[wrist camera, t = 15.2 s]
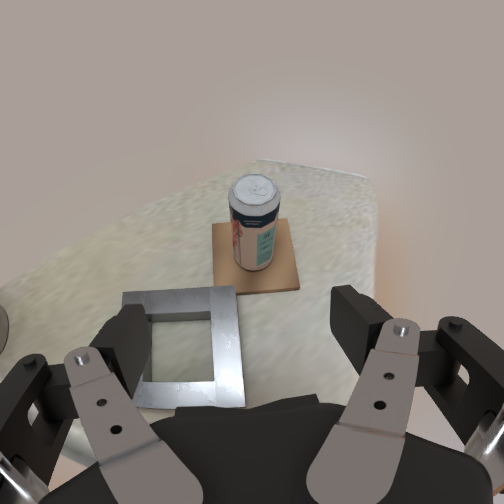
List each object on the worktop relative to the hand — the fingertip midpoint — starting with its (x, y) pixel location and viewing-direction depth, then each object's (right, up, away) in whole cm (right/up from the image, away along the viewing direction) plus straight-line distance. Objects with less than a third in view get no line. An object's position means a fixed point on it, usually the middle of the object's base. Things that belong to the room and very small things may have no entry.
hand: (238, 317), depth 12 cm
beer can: (+1, +2, +24) cm, 24 cm away
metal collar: (-7, -8, +19) cm, 22 cm away
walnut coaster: (+1, +2, +25) cm, 25 cm away
